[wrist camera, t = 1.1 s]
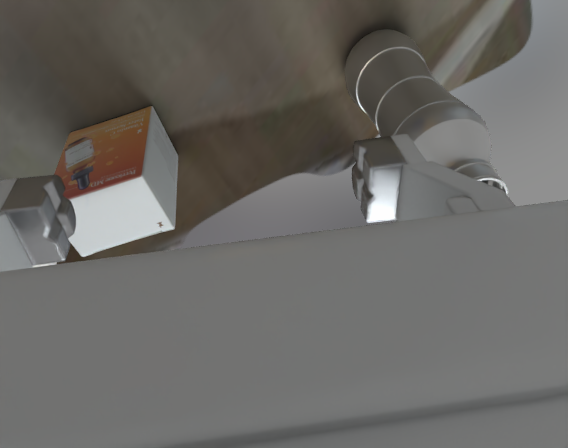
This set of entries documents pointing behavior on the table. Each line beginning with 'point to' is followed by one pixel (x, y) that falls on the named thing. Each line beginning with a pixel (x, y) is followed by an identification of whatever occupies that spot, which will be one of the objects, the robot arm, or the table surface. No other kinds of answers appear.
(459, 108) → the plastic bottle
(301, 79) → the table surface
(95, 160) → the small box
